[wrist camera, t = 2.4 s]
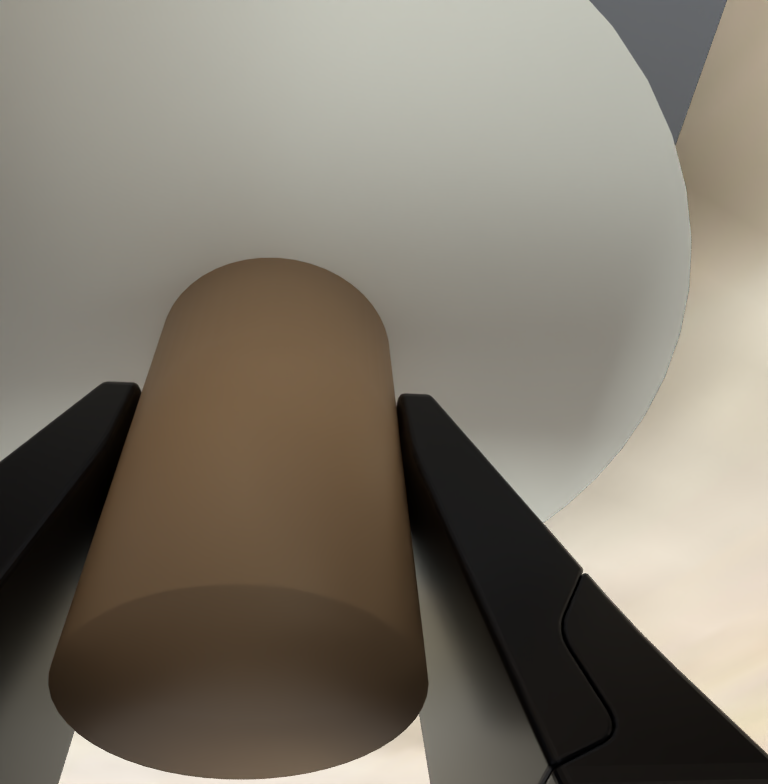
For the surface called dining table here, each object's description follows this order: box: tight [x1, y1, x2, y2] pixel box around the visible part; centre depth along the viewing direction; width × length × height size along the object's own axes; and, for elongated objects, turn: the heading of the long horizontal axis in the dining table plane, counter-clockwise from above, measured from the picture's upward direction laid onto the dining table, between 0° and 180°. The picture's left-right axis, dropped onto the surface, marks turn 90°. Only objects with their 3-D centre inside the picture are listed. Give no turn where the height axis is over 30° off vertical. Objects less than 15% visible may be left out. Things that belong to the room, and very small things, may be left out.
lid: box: [0, 0, 692, 779], centre depth 8 cm, size 12×12×6 cm
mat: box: [589, 0, 727, 145], centre depth 11 cm, size 10×12×1 cm
